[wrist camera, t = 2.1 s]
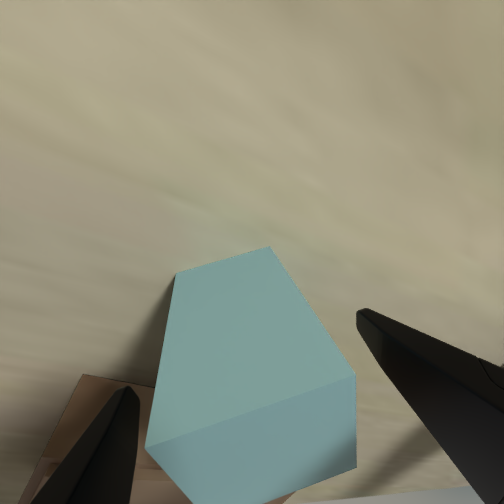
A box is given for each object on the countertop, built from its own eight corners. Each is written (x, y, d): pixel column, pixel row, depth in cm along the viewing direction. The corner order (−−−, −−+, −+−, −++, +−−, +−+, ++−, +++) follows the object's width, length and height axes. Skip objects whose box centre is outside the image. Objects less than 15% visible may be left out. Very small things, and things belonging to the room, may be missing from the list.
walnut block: (287, 414, 17) (309, 482, 14) (227, 479, 20) (233, 552, 16) (83, 374, 12) (34, 469, 9) (34, 470, 14) (-19, 576, 11)
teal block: (269, 246, 11) (355, 374, 5) (283, 316, 13) (356, 467, 7) (176, 273, 11) (144, 448, 5) (205, 340, 13) (211, 523, 7)
